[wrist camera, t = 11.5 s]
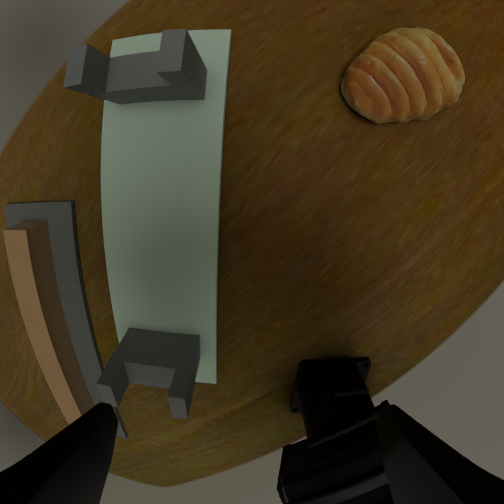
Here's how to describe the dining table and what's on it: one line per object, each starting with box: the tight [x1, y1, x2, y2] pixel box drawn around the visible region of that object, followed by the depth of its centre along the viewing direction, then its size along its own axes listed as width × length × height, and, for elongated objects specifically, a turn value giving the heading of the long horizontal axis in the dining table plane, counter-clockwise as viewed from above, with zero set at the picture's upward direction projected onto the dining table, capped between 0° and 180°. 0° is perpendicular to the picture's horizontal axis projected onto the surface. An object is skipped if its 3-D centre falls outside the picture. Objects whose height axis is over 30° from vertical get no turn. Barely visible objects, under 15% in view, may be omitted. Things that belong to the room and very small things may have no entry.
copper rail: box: [3, 221, 95, 425], centre depth 21 cm, size 24×3×3 cm, turn 176°
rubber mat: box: [5, 201, 128, 439], centre depth 22 cm, size 27×8×1 cm, turn 176°
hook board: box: [64, 29, 232, 419], centre depth 15 cm, size 26×8×8 cm, turn 176°
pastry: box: [341, 27, 465, 124], centre depth 14 cm, size 9×7×4 cm
